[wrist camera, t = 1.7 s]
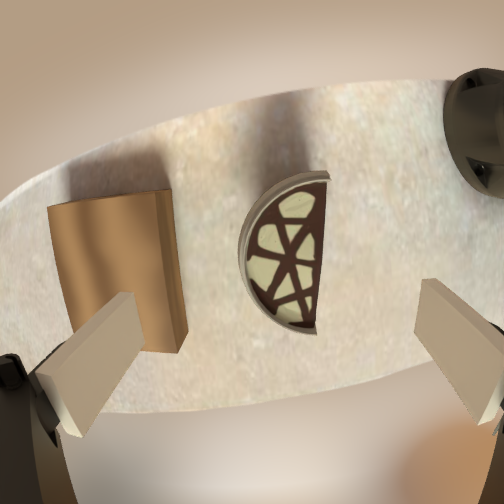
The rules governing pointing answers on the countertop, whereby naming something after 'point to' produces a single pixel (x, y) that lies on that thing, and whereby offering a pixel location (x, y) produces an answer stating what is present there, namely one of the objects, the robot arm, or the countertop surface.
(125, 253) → the walnut block
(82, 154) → the countertop surface
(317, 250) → the food container
